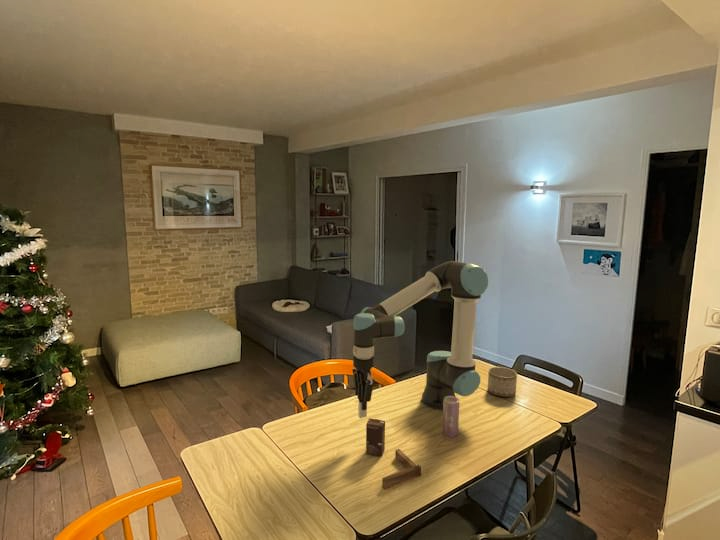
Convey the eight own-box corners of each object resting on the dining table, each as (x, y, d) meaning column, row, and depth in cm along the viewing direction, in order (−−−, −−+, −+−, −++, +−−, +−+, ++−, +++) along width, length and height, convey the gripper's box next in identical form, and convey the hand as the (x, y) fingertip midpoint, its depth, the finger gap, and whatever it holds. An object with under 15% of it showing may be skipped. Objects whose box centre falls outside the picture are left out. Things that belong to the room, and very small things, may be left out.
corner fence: (366, 467, 137) (366, 459, 137) (400, 455, 144) (400, 448, 143) (384, 489, 127) (384, 480, 126) (421, 475, 133) (421, 467, 133)
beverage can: (459, 433, 158) (461, 397, 155) (456, 441, 152) (457, 404, 150) (444, 430, 160) (445, 394, 158) (440, 437, 155) (441, 401, 153)
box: (365, 455, 144) (365, 423, 142) (369, 448, 148) (369, 417, 146) (382, 458, 142) (382, 426, 140) (385, 451, 146) (385, 420, 145)
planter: (519, 399, 186) (521, 377, 185) (492, 398, 186) (493, 377, 185) (510, 387, 199) (511, 366, 197) (484, 386, 199) (485, 366, 197)
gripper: (346, 351, 152) (345, 411, 155) (363, 363, 141) (361, 427, 144) (363, 348, 155) (362, 406, 159) (381, 360, 144) (380, 422, 148)
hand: (362, 416), depth 151 cm, fingers closed
